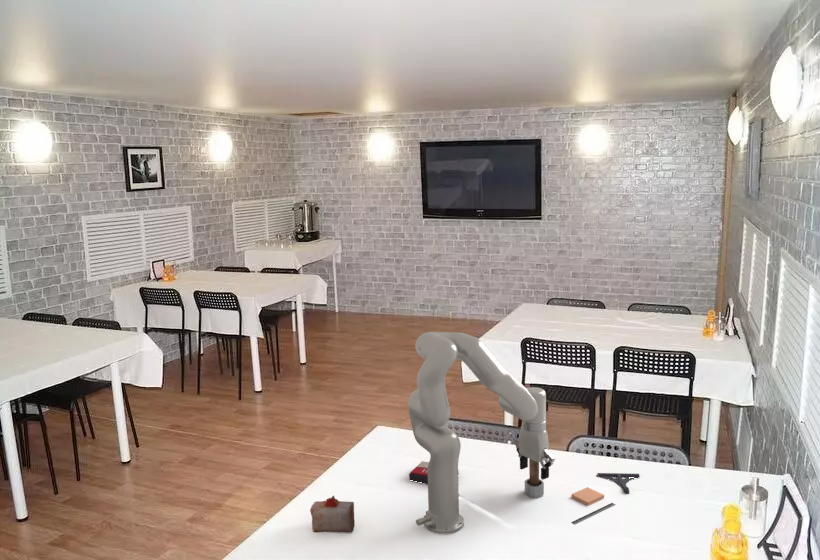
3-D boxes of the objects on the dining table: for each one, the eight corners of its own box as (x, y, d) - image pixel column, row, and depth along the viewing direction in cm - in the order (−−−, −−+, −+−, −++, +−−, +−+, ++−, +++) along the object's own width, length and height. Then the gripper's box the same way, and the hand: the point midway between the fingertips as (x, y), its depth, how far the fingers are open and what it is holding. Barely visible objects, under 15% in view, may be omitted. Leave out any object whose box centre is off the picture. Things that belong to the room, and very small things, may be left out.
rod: (534, 496, 216) (534, 457, 214) (527, 492, 219) (527, 453, 216) (541, 493, 218) (541, 454, 216) (534, 490, 220) (534, 451, 218)
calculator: (421, 459, 241) (458, 464, 235) (422, 470, 242) (459, 476, 235) (408, 471, 232) (446, 477, 225) (409, 483, 232) (447, 489, 225)
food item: (308, 534, 198) (307, 504, 197) (314, 521, 206) (313, 492, 205) (352, 535, 197) (351, 505, 196) (356, 522, 205) (355, 493, 203)
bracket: (605, 496, 218) (605, 488, 218) (597, 476, 233) (597, 469, 232) (649, 497, 217) (649, 490, 216) (638, 477, 231) (638, 470, 231)
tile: (588, 502, 209) (604, 495, 214) (571, 494, 215) (587, 487, 219) (588, 506, 209) (604, 499, 214) (571, 498, 215) (587, 491, 219)
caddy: (534, 502, 214) (534, 488, 213) (521, 495, 219) (521, 481, 218) (547, 496, 218) (547, 483, 217) (533, 490, 223) (533, 476, 222)
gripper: (507, 420, 219) (508, 467, 222) (545, 435, 205) (545, 485, 208) (523, 415, 224) (523, 461, 226) (561, 429, 209) (561, 479, 212)
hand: (534, 473), depth 217 cm, fingers open, 9 cm apart
